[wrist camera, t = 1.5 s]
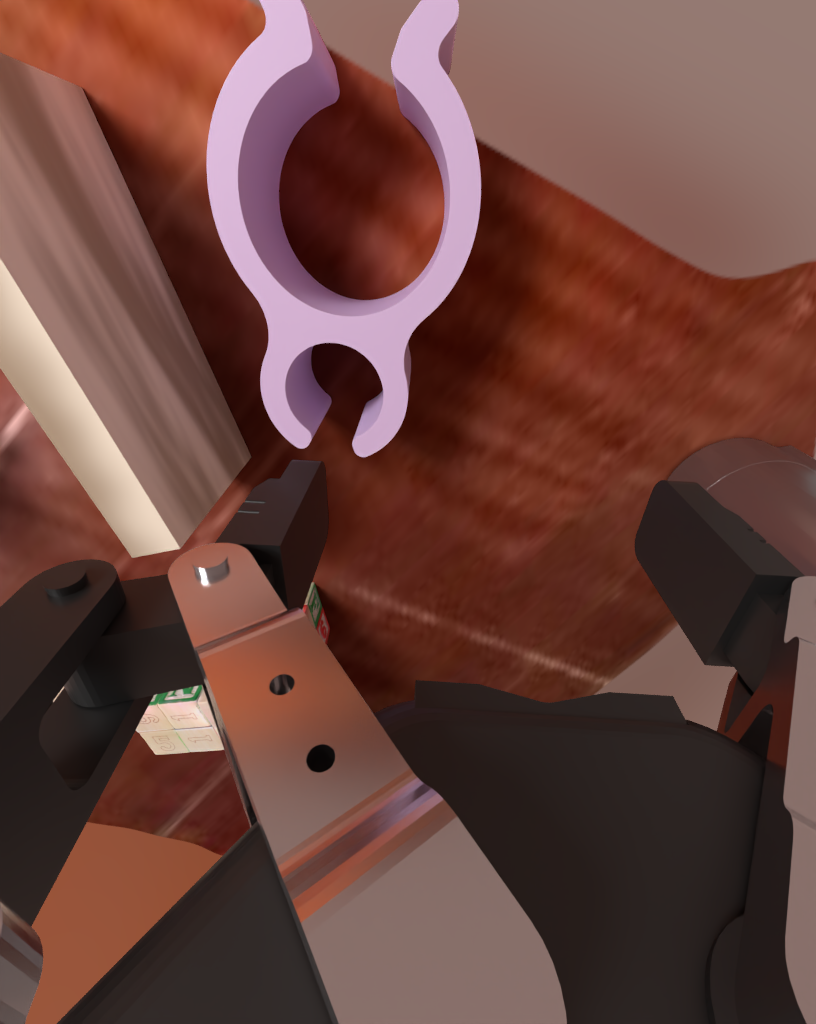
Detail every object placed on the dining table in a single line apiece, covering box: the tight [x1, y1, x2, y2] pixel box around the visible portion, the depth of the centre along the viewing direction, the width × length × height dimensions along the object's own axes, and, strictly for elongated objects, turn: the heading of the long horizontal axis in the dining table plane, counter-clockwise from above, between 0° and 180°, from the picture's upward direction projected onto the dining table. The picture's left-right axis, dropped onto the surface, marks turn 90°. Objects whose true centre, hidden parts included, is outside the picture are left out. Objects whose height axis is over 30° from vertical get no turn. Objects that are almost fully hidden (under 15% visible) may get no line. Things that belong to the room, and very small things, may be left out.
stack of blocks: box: [53, 583, 330, 755], centre depth 39 cm, size 21×6×12 cm, turn 99°
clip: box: [207, 0, 481, 457], centre depth 25 cm, size 20×12×7 cm, turn 172°
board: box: [0, 53, 251, 558], centre depth 25 cm, size 3×22×12 cm, turn 14°
